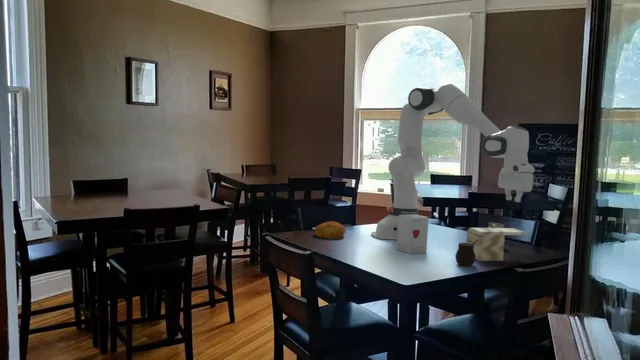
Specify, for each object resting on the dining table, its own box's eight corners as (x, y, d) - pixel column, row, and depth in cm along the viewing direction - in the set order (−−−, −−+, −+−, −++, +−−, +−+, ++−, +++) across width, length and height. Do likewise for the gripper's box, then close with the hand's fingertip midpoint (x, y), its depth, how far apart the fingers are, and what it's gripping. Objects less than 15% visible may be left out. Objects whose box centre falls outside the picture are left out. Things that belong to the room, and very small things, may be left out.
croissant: (346, 239, 242) (348, 222, 242) (342, 240, 227) (344, 222, 227) (317, 236, 245) (318, 219, 245) (311, 237, 229) (312, 219, 230)
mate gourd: (453, 262, 192) (455, 236, 192) (473, 263, 192) (475, 237, 191) (456, 266, 185) (458, 239, 184) (477, 268, 184) (479, 241, 184)
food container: (505, 249, 221) (507, 227, 220) (490, 248, 222) (492, 225, 221) (501, 244, 233) (502, 222, 232) (487, 243, 234) (488, 221, 234)
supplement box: (409, 254, 203) (411, 217, 202) (396, 249, 211) (398, 214, 210) (427, 253, 207) (429, 216, 206) (413, 248, 215) (415, 213, 214)
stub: (503, 234, 199) (503, 231, 199) (492, 230, 208) (492, 227, 208) (526, 235, 200) (526, 232, 200) (514, 231, 209) (514, 228, 209)
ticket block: (479, 260, 197) (481, 232, 196) (465, 253, 208) (467, 226, 208) (503, 260, 198) (504, 232, 197) (488, 253, 210) (490, 227, 209)
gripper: (495, 165, 212) (493, 197, 213) (521, 167, 192) (519, 203, 193) (509, 165, 213) (507, 198, 214) (537, 168, 193) (534, 204, 194)
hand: (513, 200), depth 203 cm, fingers open, 5 cm apart
